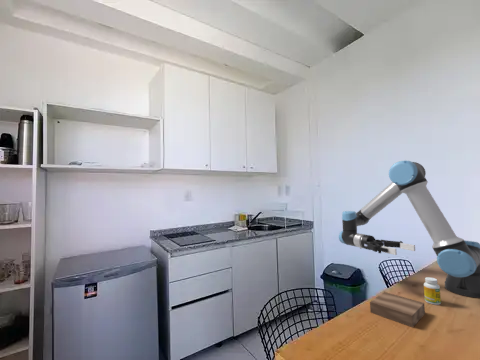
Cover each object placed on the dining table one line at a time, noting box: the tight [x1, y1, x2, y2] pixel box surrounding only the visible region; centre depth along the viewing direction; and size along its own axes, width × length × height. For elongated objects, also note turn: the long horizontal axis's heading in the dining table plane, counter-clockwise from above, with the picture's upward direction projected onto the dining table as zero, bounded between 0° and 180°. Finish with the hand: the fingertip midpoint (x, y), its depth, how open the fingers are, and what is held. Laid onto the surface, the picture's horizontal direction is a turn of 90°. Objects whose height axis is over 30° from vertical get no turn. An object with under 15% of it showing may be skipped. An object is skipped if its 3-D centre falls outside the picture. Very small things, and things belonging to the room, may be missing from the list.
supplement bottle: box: [423, 277, 442, 306], centre depth 101 cm, size 5×5×10 cm
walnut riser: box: [369, 291, 426, 328], centre depth 93 cm, size 14×14×4 cm
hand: (405, 250), depth 110 cm, fingers open, 13 cm apart
